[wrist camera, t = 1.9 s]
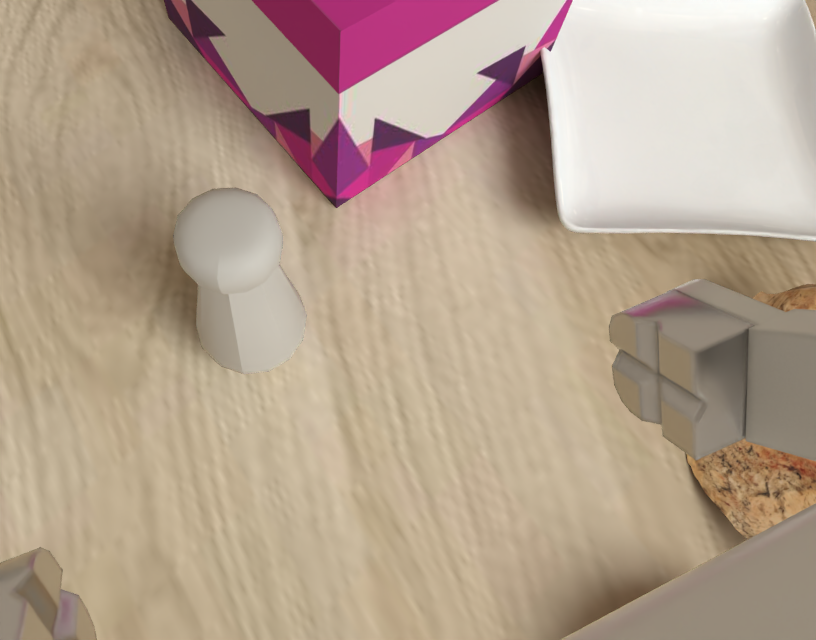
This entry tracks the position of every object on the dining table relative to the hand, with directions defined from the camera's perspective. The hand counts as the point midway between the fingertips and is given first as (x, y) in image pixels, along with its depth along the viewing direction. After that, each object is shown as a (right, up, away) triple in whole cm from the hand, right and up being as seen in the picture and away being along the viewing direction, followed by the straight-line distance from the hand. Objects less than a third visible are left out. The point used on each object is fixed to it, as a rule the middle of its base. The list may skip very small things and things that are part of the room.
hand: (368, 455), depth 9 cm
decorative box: (-3, +21, +37) cm, 43 cm away
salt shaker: (-8, +1, +29) cm, 30 cm away
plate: (+19, +16, +38) cm, 45 cm away
